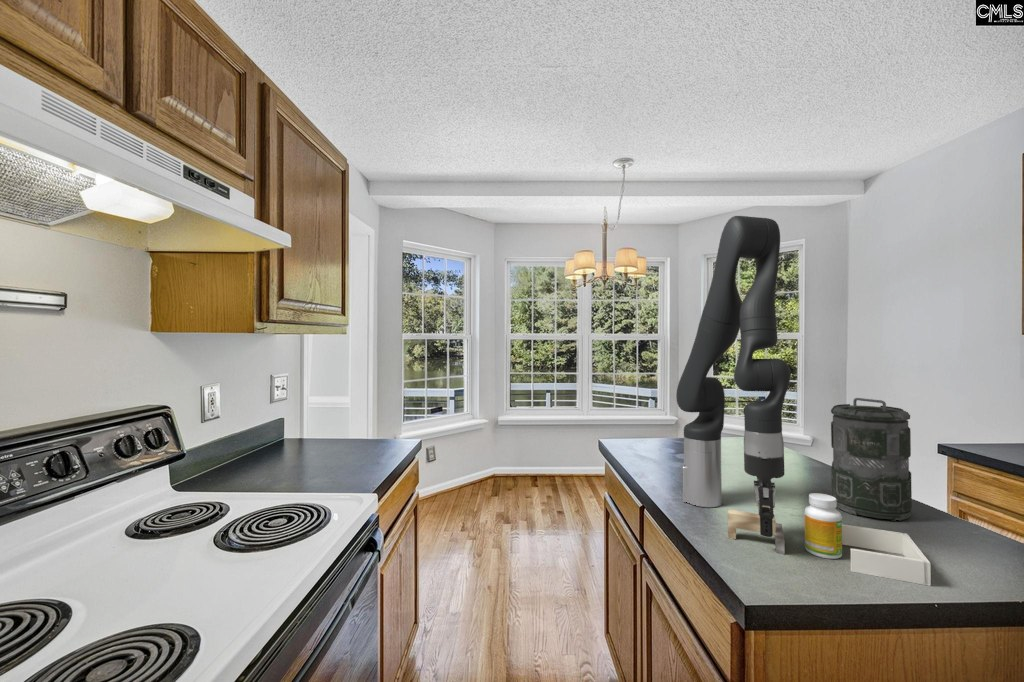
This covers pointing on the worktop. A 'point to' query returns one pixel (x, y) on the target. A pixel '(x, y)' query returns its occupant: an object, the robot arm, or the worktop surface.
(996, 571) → the worktop surface
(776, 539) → the scraper
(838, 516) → the supplement bottle
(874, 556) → the box
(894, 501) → the canister
